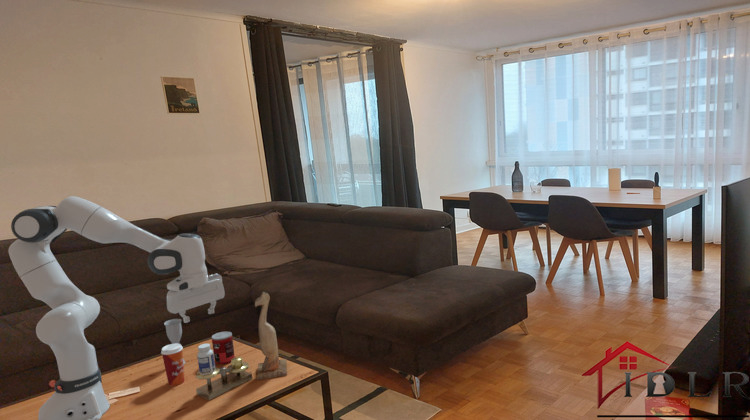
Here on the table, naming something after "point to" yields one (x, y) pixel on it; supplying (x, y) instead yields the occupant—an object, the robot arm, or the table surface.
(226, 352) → the canned food
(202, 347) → the pill bottle
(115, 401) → the table surface
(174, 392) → the table surface
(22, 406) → the table surface
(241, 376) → the balance
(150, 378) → the table surface
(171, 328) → the chalice
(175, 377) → the paper cup
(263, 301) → the bird sculpture
